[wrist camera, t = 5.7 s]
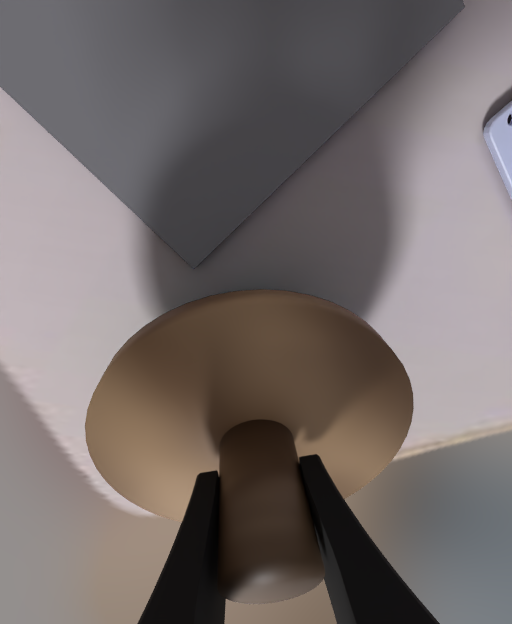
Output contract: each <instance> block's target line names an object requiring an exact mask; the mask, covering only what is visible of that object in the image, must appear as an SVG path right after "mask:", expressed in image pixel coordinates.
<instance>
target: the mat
mask: <svg viewBox="0 0 512 624" xmlns="http://www.w3.org/2000/svg"><path fill="white" fill-rule="evenodd" d="M464 7H465V5H464V3H463V0H0V87H1V88H2V89H3V90H4V91H5V92H6V93H7V94H9V95H10V96H11V97H12V98H13V99H14V100H15V101H16V102H17V103H18V104H19V105H20V106H21V107H22V108H23V109H24V110H26V111H27V112H28V113H29V114H30V115H31V116H32V117H33V118H34V119H35V120H36V121H37V122H38V123H39V124H40V125H41V126H42V127H44V128H45V129H46V130H47V131H48V132H49V133H50V134H51V135H52V136H53V137H54V138H55V139H56V140H57V141H58V142H59V143H61V144H62V145H63V146H64V147H65V148H66V149H67V150H68V151H69V152H70V153H71V154H72V155H73V156H74V157H75V158H76V159H77V160H79V161H80V162H81V163H82V164H83V165H84V166H85V167H86V168H87V169H88V170H89V171H90V172H91V173H92V174H93V175H94V176H96V177H97V178H98V179H99V180H100V181H101V182H102V183H103V184H104V185H105V186H106V187H107V188H108V189H109V190H110V191H111V192H112V193H114V194H115V195H116V196H117V197H118V198H119V199H120V200H121V201H122V202H123V203H124V204H125V205H126V206H127V207H128V208H129V209H131V210H132V211H133V212H134V213H135V214H136V215H137V216H138V217H139V218H140V219H141V220H142V221H143V222H144V223H145V224H146V225H147V226H149V227H150V228H151V229H152V230H153V231H154V232H155V233H156V234H157V235H158V236H159V237H160V238H161V239H162V240H163V241H164V242H166V243H167V244H168V245H169V246H170V247H171V248H172V249H173V250H174V251H175V252H176V253H177V254H178V255H179V256H180V257H181V258H183V259H184V260H185V261H186V262H187V263H188V264H189V265H190V266H191V267H192V268H193V269H195V268H196V267H197V266H198V265H199V264H200V263H201V262H202V261H203V260H204V259H205V258H206V257H207V256H208V255H209V254H210V253H211V252H212V251H213V250H214V249H215V248H216V247H217V246H218V245H219V244H220V243H221V242H222V241H223V240H224V239H226V238H227V237H228V236H229V235H230V234H231V233H232V232H233V231H234V230H235V229H236V228H237V227H238V226H239V225H240V224H241V223H242V222H243V221H244V220H245V219H246V218H247V217H248V216H249V215H250V214H251V213H252V212H253V211H254V210H256V209H257V208H258V207H259V206H260V205H261V204H262V203H263V202H264V201H265V200H266V199H267V198H268V197H269V196H270V195H271V194H272V193H273V192H274V191H275V190H276V189H277V188H278V187H279V186H280V185H281V184H282V183H283V182H284V181H285V180H287V179H288V178H289V177H290V176H291V175H292V174H293V173H294V172H295V171H296V170H297V169H298V168H299V167H300V166H301V165H302V164H303V163H304V162H305V161H306V160H307V159H308V158H309V157H310V156H311V155H312V154H313V153H314V152H315V151H317V150H318V149H319V148H320V147H321V146H322V145H323V144H324V143H325V142H326V141H327V140H328V139H329V138H330V137H331V136H332V135H333V134H334V133H335V132H336V131H337V130H338V129H339V128H340V127H341V126H342V125H343V124H344V123H345V122H346V121H348V120H349V119H350V118H351V117H352V116H353V115H354V114H355V113H356V112H357V111H358V110H359V109H360V108H361V107H362V106H363V105H364V104H365V103H366V102H367V101H368V100H369V99H370V98H371V97H372V96H373V95H374V94H375V93H376V92H378V91H379V90H380V89H381V88H382V87H383V86H384V85H385V84H386V83H387V82H388V81H389V80H390V79H391V78H392V77H393V76H394V75H395V74H396V73H397V72H398V71H399V70H400V69H401V68H402V67H403V66H404V65H405V64H406V63H407V62H409V61H410V60H411V59H412V58H413V57H414V56H415V55H416V54H417V53H418V52H419V51H420V50H421V49H422V48H423V47H424V46H425V45H426V44H427V43H428V42H429V41H430V40H431V39H432V38H433V37H434V36H435V35H436V34H437V33H439V32H440V31H441V30H442V29H443V28H444V27H445V26H446V25H447V24H448V23H449V22H450V21H451V20H452V19H453V18H454V17H455V16H456V15H457V14H458V13H459V12H460V11H461V10H462V9H463V8H464Z"/></svg>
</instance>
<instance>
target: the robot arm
mask: <svg viewBox="0 0 512 624" xmlns="http://www.w3.org/2000/svg"><path fill="white" fill-rule="evenodd" d="M510 114H511V118H512V101H511V102H510V103H508V104H507V105H506V106H505V107H504V108H503V109H501V110H500V111H499V112H498V113H497V114H496V115H494V116H493V117H492V118H491V119H490V120H489V121H488V122H487V124H486V126H485V128H484V133H483V134H484V139H485V141H486V143H487V145H488V148H489V150H490V152H491V154H492V157H493V159H494V161H495V164H496V166H497V168H498V170H499V173H500V175H501V177H502V179H503V182H504V184H505V186H506V188H507V191H508V193H509V195H510V198H511V200H512V119H511V122H510V123H509V125H508V123H507V119H508V116H509V115H510ZM299 465H300V469H301V473H302V477H303V481H304V486H305V490H306V494H307V498H308V502H309V506H310V510H311V514H312V518H313V522H314V527H315V531H316V535H317V539H318V543H319V548H320V552H321V556H322V560H323V564H324V568H325V577H324V580H325V584H326V586H327V590H328V593H329V597H330V600H331V604H332V607H333V610H334V614H335V618H336V621H337V624H440V623H439V622H438V621H437V620H436V619H435V618H434V617H433V615H432V614H431V613H430V612H429V611H428V610H427V608H426V607H425V606H424V605H423V604H422V602H421V601H420V600H419V599H418V598H417V597H416V595H415V594H414V593H413V592H412V591H411V589H410V588H409V587H408V586H407V585H406V583H405V582H404V581H403V580H402V578H401V577H400V576H399V575H398V573H397V572H396V571H395V570H394V569H393V567H392V566H391V564H390V563H389V562H388V561H387V559H386V558H385V557H384V555H382V553H381V552H380V550H379V549H378V547H377V546H376V545H375V543H374V542H373V541H372V539H371V538H370V537H369V535H368V534H367V532H366V531H365V530H364V528H363V527H362V525H361V524H360V523H359V521H358V519H357V518H356V517H355V515H354V514H353V512H352V511H351V509H350V508H349V506H348V505H347V503H346V502H345V500H344V499H343V497H342V495H341V494H340V492H339V491H338V489H337V487H336V486H335V484H334V482H333V481H332V479H331V477H330V475H329V474H328V472H327V470H326V468H325V466H324V464H323V462H322V460H321V458H320V456H319V455H317V454H313V455H307V456H301V457H299ZM218 518H219V475H218V471H217V470H215V471H209V472H203V473H199V474H198V475H197V478H196V481H195V485H194V488H193V491H192V495H191V498H190V501H189V504H188V507H187V509H186V512H185V515H184V518H183V521H182V523H181V526H180V528H179V531H178V534H177V536H176V539H175V541H174V544H173V546H172V549H171V551H170V554H169V556H168V559H167V561H166V563H165V565H164V568H163V570H162V572H161V574H160V577H159V579H158V582H157V584H156V586H155V588H154V591H153V593H152V595H151V597H150V599H149V601H148V603H147V605H146V607H145V610H144V612H143V614H142V616H141V618H140V620H139V622H138V624H224V620H225V599H226V598H224V597H223V596H221V595H220V594H219V592H218V589H217V580H218Z"/></svg>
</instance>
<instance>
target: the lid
mask: <svg viewBox="0 0 512 624" xmlns="http://www.w3.org/2000/svg"><path fill="white" fill-rule="evenodd" d="M412 414H413V392H412V387H411V383H410V379H409V377H408V375H407V373H406V370H405V368H404V366H403V364H402V363H401V362H400V360H399V359H398V357H397V356H396V355H395V353H394V352H393V351H392V349H391V348H390V347H389V346H388V345H387V343H386V342H385V341H384V340H383V339H382V337H381V336H380V335H379V334H378V333H377V332H376V331H375V330H374V329H373V328H372V327H371V326H370V325H369V324H368V323H367V322H366V321H364V320H363V319H361V318H360V317H358V316H357V315H355V314H354V313H352V312H351V311H349V310H347V309H345V308H343V307H341V306H339V305H337V304H335V303H333V302H330V301H327V300H324V299H321V298H318V297H315V296H311V295H307V294H302V293H296V292H291V291H283V290H264V289H259V290H244V291H233V292H228V293H223V294H217V295H212V296H208V297H205V298H202V299H199V300H195V301H192V302H189V303H186V304H184V305H182V306H180V307H177V308H175V309H173V310H171V311H169V312H166V313H164V314H163V315H161V316H159V317H158V318H156V319H155V320H153V321H152V322H150V323H148V324H147V325H145V326H144V327H143V328H141V329H140V330H139V331H138V332H137V333H136V334H134V335H133V336H132V337H131V338H130V339H129V340H127V342H126V343H125V344H124V345H123V346H122V347H121V349H120V350H119V351H118V352H117V353H116V354H115V356H114V357H113V359H112V361H111V362H110V364H109V366H108V367H107V369H106V371H105V372H104V374H103V376H102V378H101V380H100V382H99V384H98V385H97V387H96V389H95V391H94V393H93V396H92V398H91V401H90V404H89V407H88V410H87V416H86V423H85V432H86V442H87V446H88V450H89V453H90V456H91V458H92V460H93V462H94V464H95V466H96V468H97V470H98V471H99V473H100V474H101V475H102V477H103V478H104V479H105V481H106V482H107V483H108V484H109V485H110V486H111V487H112V488H113V489H114V490H115V491H117V492H118V493H119V494H121V495H122V496H123V497H125V498H126V499H127V500H129V501H130V502H132V503H134V504H136V505H137V506H139V507H141V508H143V509H145V510H147V511H149V512H152V513H154V514H156V515H159V516H162V517H165V518H168V519H171V520H175V521H179V522H182V521H183V518H184V515H185V512H186V509H187V507H188V504H189V501H190V498H191V495H192V491H193V488H194V485H195V481H196V478H197V475H198V474H199V473H203V472H209V471H215V470H217V471H218V475H219V518H218V580H217V589H218V592H219V594H220V595H221V596H223V597H224V598H226V599H228V600H231V601H234V602H238V603H245V604H265V603H273V602H279V601H284V600H288V599H291V598H294V597H297V596H300V595H302V594H305V593H307V592H309V591H310V590H312V589H314V588H315V587H316V586H317V585H319V584H320V583H321V582H322V580H323V579H324V577H325V568H324V564H323V560H322V556H321V552H320V548H319V543H318V539H317V535H316V531H315V527H314V522H313V518H312V514H311V510H310V506H309V502H308V498H307V494H306V490H305V486H304V481H303V477H302V473H301V469H300V465H299V457H301V456H307V455H313V454H317V455H319V456H320V458H321V460H322V462H323V464H324V466H325V468H326V470H327V472H328V474H329V475H330V477H331V479H332V481H333V482H334V484H335V486H336V487H337V489H338V491H339V492H340V494H341V495H342V497H343V499H345V498H347V497H349V496H350V495H351V494H354V493H355V492H357V491H358V490H360V489H361V488H362V487H364V486H365V485H366V484H368V483H369V482H371V481H372V480H373V479H374V478H375V477H376V476H377V475H378V474H379V473H381V472H382V471H383V469H384V468H385V467H386V466H387V465H388V464H389V463H390V462H391V461H392V459H393V458H394V456H395V455H396V454H397V452H398V451H399V449H400V448H401V446H402V444H403V442H404V440H405V438H406V436H407V433H408V430H409V427H410V424H411V421H412Z"/></svg>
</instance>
